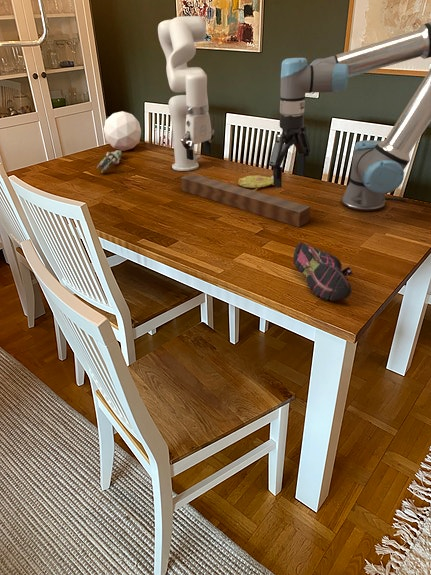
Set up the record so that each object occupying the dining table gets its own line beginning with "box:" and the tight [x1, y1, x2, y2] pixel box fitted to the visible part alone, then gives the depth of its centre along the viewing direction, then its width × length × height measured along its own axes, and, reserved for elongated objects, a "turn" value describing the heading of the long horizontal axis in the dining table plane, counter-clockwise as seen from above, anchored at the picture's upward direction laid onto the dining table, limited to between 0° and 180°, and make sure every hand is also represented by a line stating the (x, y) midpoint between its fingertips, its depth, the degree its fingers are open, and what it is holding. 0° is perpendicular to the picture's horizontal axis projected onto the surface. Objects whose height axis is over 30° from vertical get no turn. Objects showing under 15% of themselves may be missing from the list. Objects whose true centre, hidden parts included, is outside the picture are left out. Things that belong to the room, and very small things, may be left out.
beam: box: [180, 173, 311, 228], centre depth 167 cm, size 57×6×6 cm, turn 48°
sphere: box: [103, 110, 142, 152], centre depth 233 cm, size 19×20×20 cm
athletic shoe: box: [292, 242, 355, 301], centre depth 117 cm, size 11×22×12 cm
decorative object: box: [237, 174, 274, 191], centre depth 186 cm, size 21×2×20 cm
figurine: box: [96, 149, 123, 174], centre depth 213 cm, size 7×8×30 cm
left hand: (198, 156), depth 173 cm, fingers open, 9 cm apart
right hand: (289, 180), depth 149 cm, fingers open, 13 cm apart
